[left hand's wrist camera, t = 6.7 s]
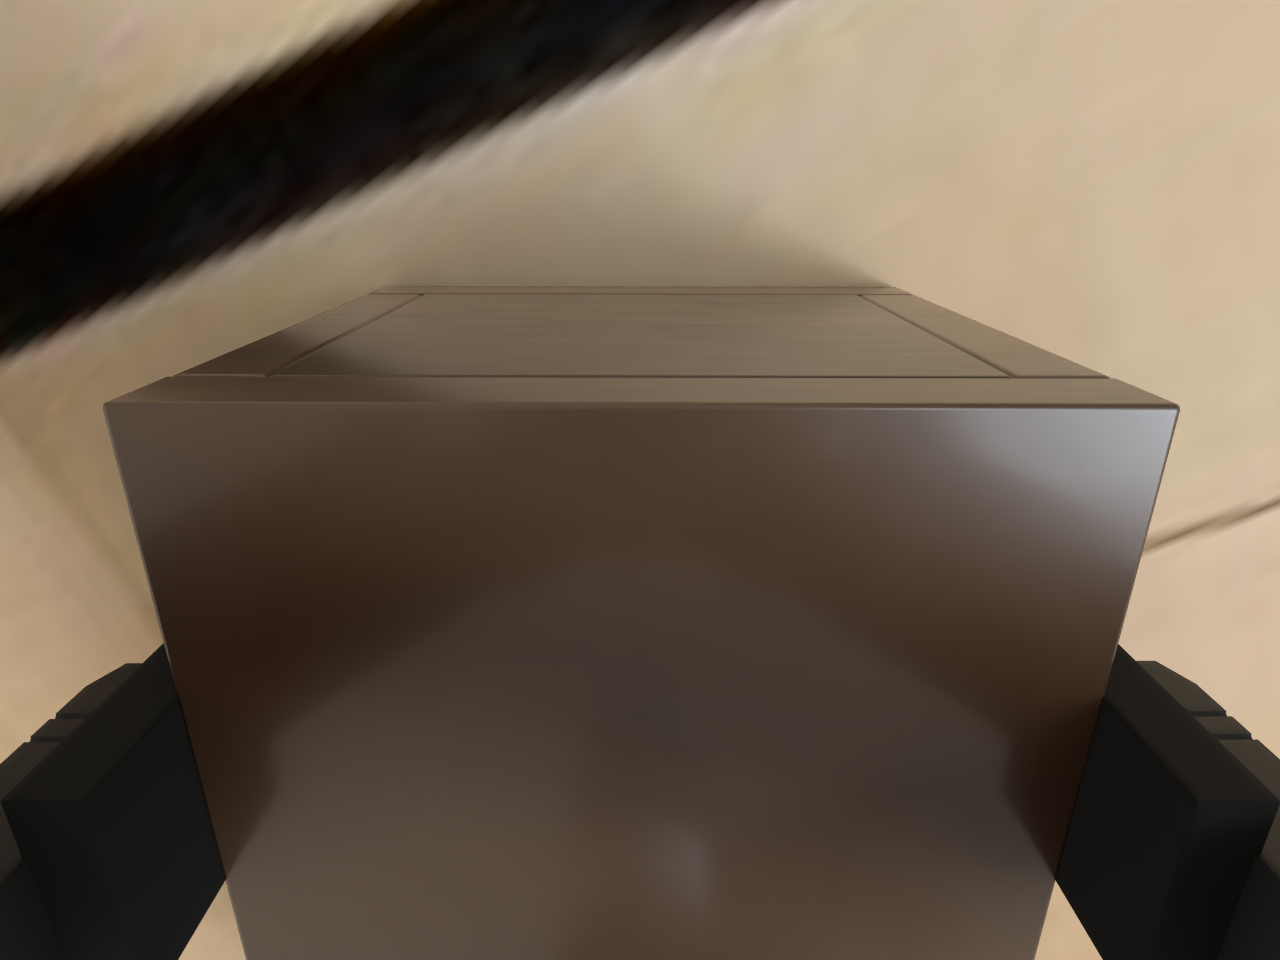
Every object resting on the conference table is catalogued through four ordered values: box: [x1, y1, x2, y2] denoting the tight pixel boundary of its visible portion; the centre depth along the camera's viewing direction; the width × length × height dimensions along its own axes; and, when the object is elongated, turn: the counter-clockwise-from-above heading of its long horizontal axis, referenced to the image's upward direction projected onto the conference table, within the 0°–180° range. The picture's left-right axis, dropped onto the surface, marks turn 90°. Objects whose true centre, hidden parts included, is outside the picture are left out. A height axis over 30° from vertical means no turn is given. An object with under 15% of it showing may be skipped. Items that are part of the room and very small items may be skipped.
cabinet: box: [103, 287, 1180, 960], centre depth 15 cm, size 20×10×9 cm, turn 0°
